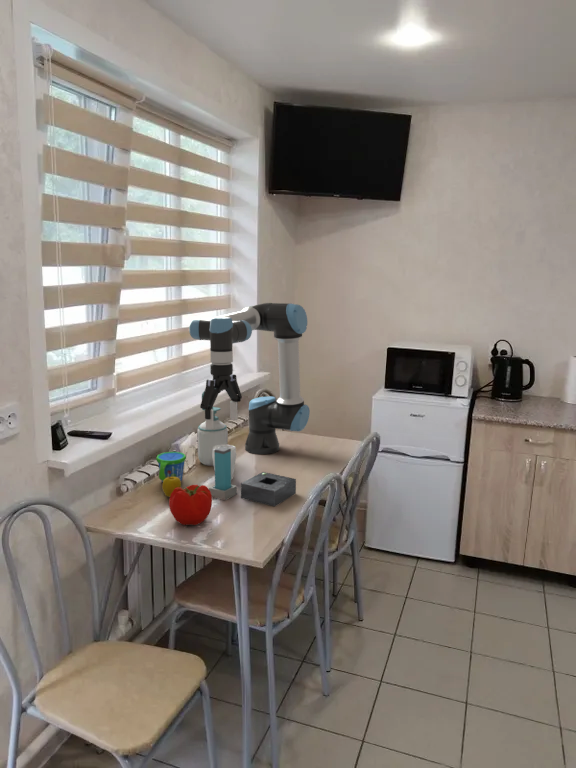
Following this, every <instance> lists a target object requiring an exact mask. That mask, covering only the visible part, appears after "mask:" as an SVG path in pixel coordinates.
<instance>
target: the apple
mask: <svg viewBox="0 0 576 768" xmlns="http://www.w3.org/2000/svg"><path fill="white" fill-rule="evenodd" d="M178 487H180V488H182V481H180V479H179V478H178V477H169V476H168V477H167V478H165V479H164V481H163V483H162V491H163V493H164V495H165V496H166V497H169V498H170V496H171V493H172V492H173V490H174V489H175V488H178Z"/></svg>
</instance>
